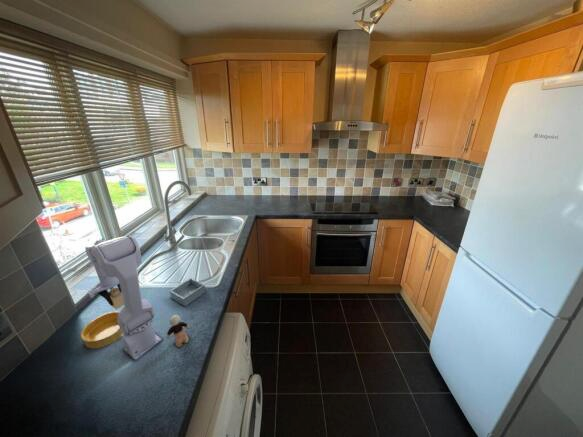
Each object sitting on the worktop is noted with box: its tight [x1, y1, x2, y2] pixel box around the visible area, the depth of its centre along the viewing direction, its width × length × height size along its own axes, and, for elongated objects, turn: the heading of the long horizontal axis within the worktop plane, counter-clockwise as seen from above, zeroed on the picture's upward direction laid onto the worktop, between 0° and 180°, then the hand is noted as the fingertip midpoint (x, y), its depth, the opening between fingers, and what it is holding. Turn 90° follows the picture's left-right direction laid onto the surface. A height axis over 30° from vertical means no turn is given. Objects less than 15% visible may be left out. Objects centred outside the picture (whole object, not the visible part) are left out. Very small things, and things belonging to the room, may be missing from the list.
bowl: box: [80, 310, 123, 349], centre depth 90 cm, size 14×14×4 cm
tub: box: [169, 277, 207, 307], centre depth 110 cm, size 11×10×4 cm
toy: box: [108, 287, 125, 310], centre depth 93 cm, size 4×5×8 cm
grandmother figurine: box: [166, 314, 190, 348], centre depth 84 cm, size 8×4×13 cm, turn 141°
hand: (117, 300), depth 94 cm, fingers closed on toy, 4 cm apart
